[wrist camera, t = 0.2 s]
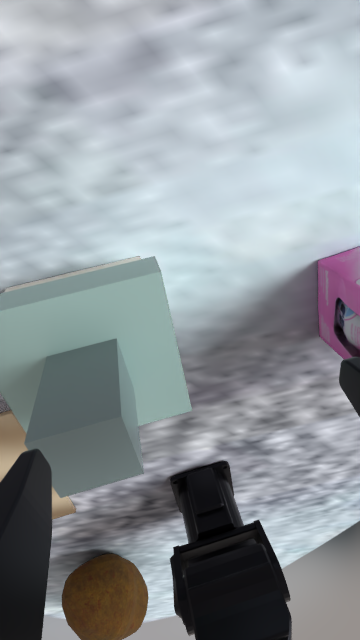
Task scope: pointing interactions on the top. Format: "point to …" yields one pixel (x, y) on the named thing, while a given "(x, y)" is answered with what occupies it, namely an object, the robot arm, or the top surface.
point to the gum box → (340, 302)
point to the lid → (91, 370)
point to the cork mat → (6, 446)
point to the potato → (105, 599)
